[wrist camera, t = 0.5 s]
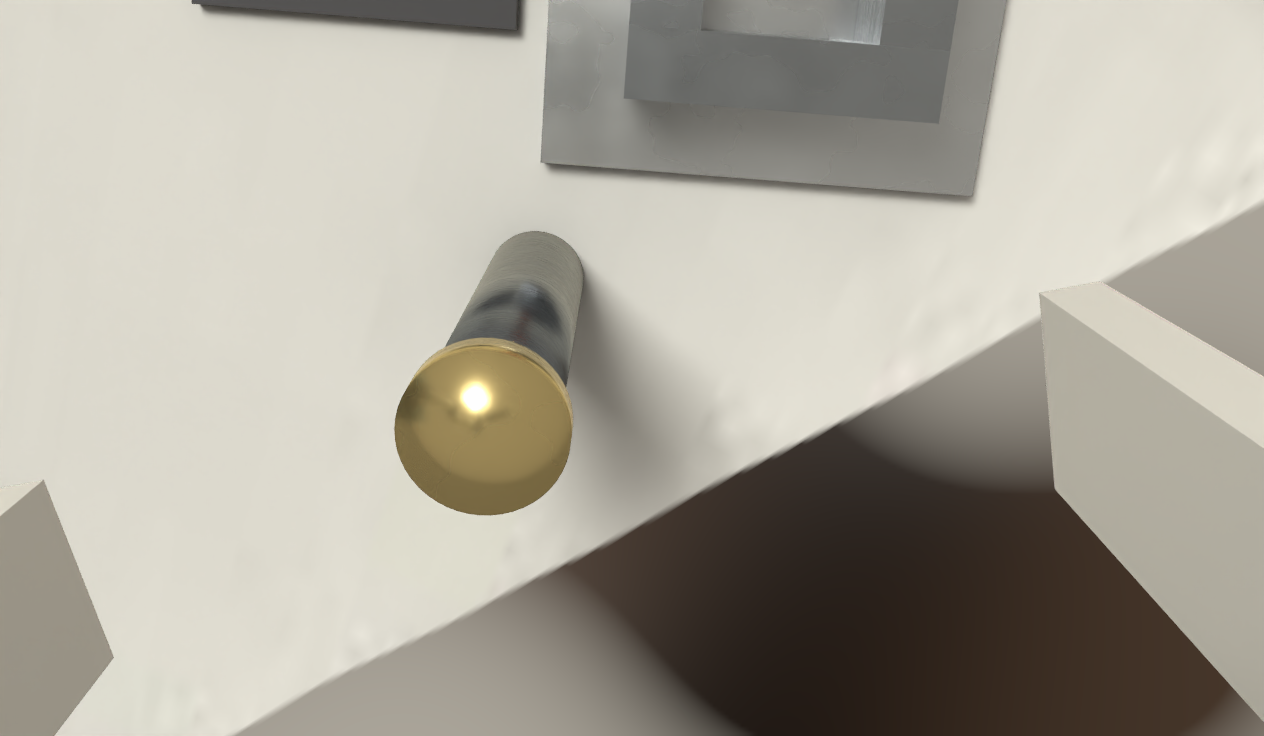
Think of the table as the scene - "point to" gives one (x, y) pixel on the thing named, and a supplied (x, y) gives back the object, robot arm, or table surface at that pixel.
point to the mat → (397, 10)
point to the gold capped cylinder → (498, 385)
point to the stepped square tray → (774, 89)
